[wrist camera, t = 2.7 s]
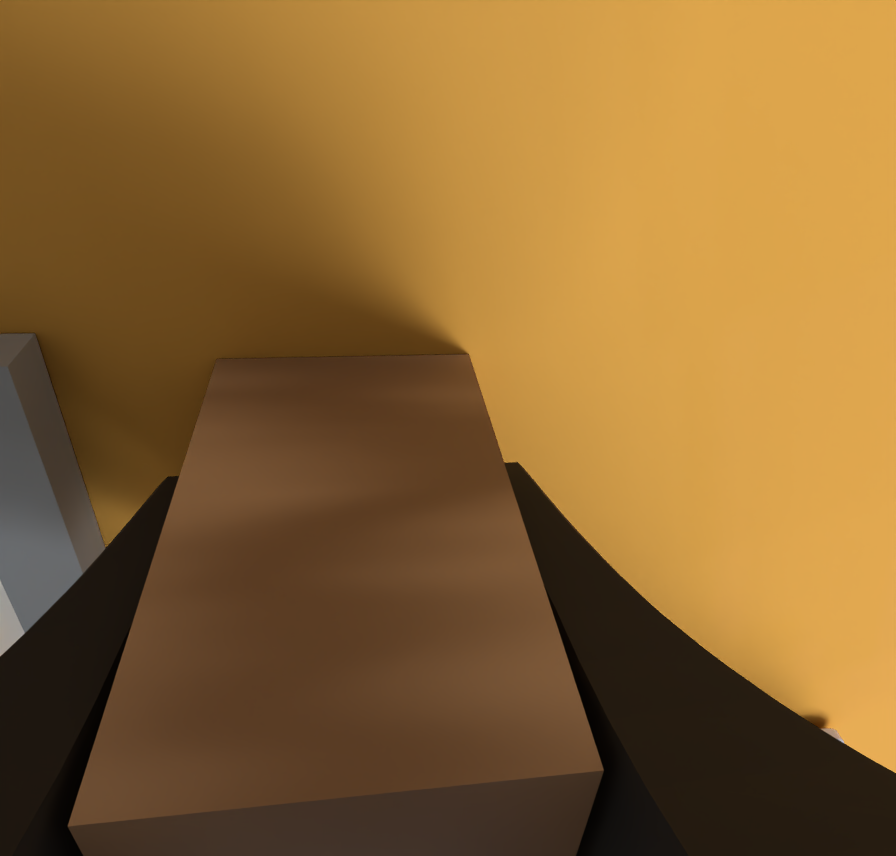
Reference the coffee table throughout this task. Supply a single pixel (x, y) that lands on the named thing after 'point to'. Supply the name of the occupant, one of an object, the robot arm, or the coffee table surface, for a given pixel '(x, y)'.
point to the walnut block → (341, 636)
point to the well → (37, 494)
